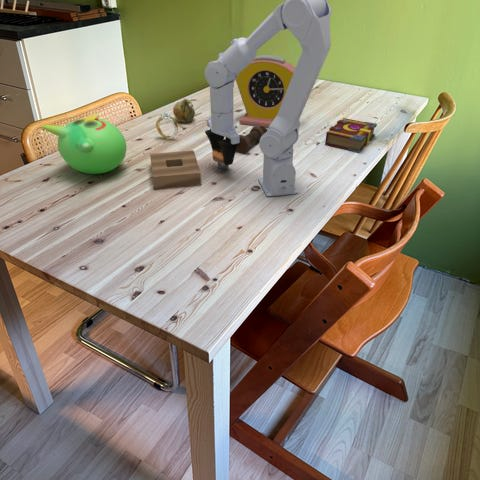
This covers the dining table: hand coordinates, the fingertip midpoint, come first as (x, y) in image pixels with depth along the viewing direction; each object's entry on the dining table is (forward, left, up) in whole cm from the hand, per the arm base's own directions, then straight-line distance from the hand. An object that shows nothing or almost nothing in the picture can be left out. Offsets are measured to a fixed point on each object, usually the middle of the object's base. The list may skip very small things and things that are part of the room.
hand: (223, 159), depth 119 cm
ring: (+25, +13, -3) cm, 28 cm away
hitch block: (0, +13, -3) cm, 13 cm away
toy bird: (+7, +34, -3) cm, 35 cm away
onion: (+40, +6, -3) cm, 41 cm away
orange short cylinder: (0, 0, -2) cm, 2 cm away
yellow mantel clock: (+33, -21, -3) cm, 39 cm away
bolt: (+16, -12, -4) cm, 20 cm away
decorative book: (+13, -43, -4) cm, 45 cm away
